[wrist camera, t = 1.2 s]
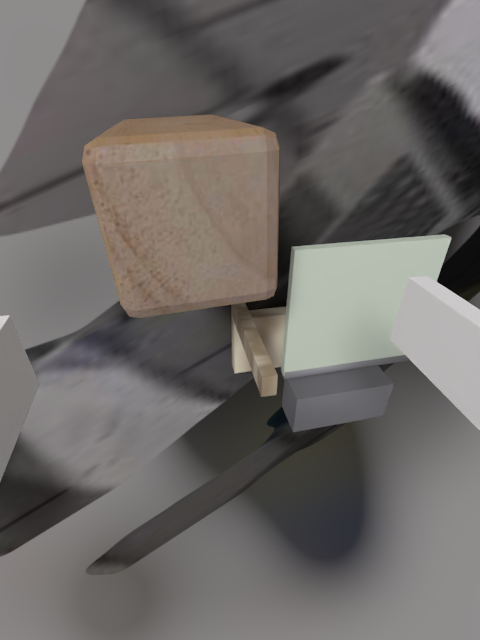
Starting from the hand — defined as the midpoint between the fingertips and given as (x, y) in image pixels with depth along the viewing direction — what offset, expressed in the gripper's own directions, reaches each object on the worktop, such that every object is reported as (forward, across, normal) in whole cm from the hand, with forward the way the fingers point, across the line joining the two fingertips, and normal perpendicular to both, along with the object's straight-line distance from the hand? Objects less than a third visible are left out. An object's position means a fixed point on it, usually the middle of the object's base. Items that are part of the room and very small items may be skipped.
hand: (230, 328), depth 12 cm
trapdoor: (+18, +15, -14) cm, 27 cm away
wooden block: (+29, 0, 0) cm, 29 cm away
